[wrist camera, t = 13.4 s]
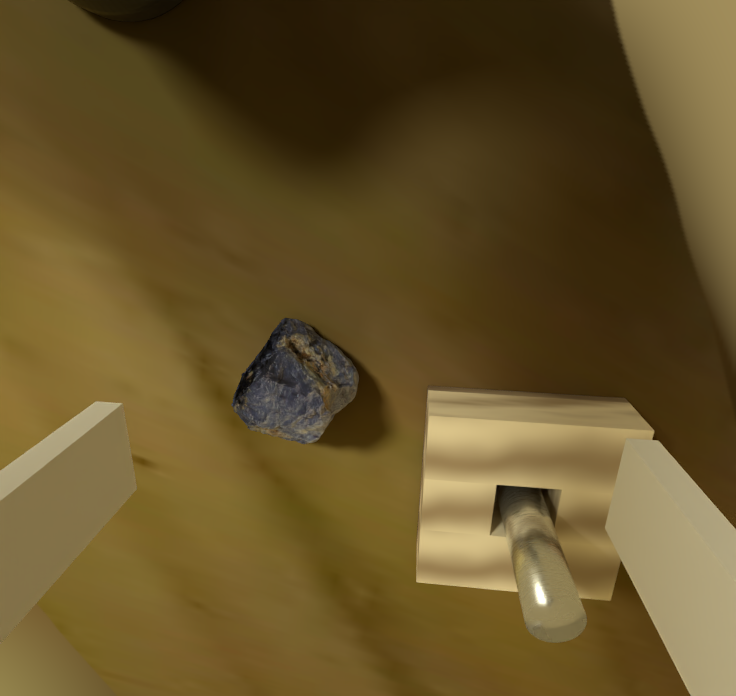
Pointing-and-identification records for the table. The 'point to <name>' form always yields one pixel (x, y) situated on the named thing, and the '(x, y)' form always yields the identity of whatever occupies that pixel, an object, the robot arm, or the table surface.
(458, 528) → the bore block
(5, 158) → the table surface
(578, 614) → the pin
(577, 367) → the table surface
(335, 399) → the rock
